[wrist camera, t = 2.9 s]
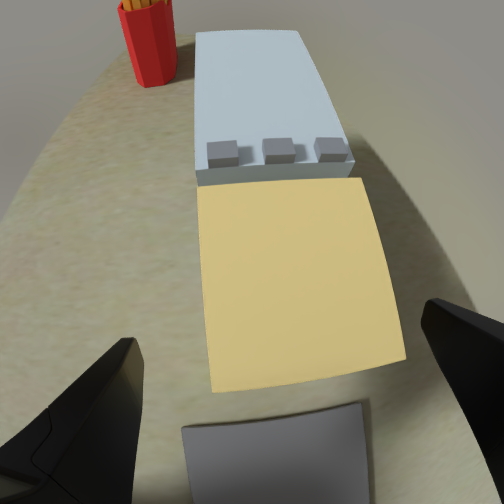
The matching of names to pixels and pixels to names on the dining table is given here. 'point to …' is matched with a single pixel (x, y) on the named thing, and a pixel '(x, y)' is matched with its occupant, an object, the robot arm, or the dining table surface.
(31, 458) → the robot arm
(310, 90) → the knobbed pale slab
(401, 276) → the dining table surface
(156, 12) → the french fries
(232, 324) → the block
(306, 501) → the mat
